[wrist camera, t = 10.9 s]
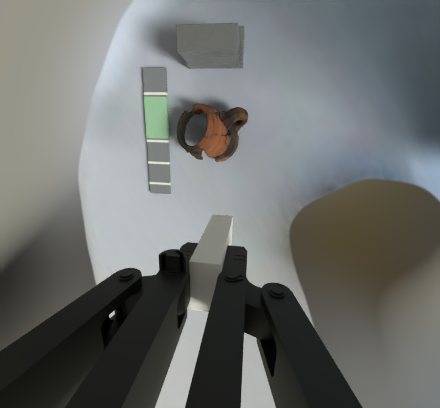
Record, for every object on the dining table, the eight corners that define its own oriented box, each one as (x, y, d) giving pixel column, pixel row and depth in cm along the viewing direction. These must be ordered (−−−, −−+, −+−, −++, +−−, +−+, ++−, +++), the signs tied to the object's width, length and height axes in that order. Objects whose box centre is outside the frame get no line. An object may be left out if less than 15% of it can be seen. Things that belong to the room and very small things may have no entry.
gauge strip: (171, 193, 45) (169, 194, 44) (151, 191, 45) (149, 192, 45) (166, 68, 38) (165, 67, 38) (143, 68, 39) (142, 67, 38)
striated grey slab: (242, 68, 37) (240, 50, 29) (189, 68, 38) (173, 51, 30) (244, 32, 35) (242, 3, 28) (188, 33, 36) (172, 6, 29)
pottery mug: (212, 173, 43) (182, 167, 36) (197, 132, 45) (166, 119, 38) (266, 138, 37) (242, 122, 30) (245, 93, 39) (219, 69, 32)
